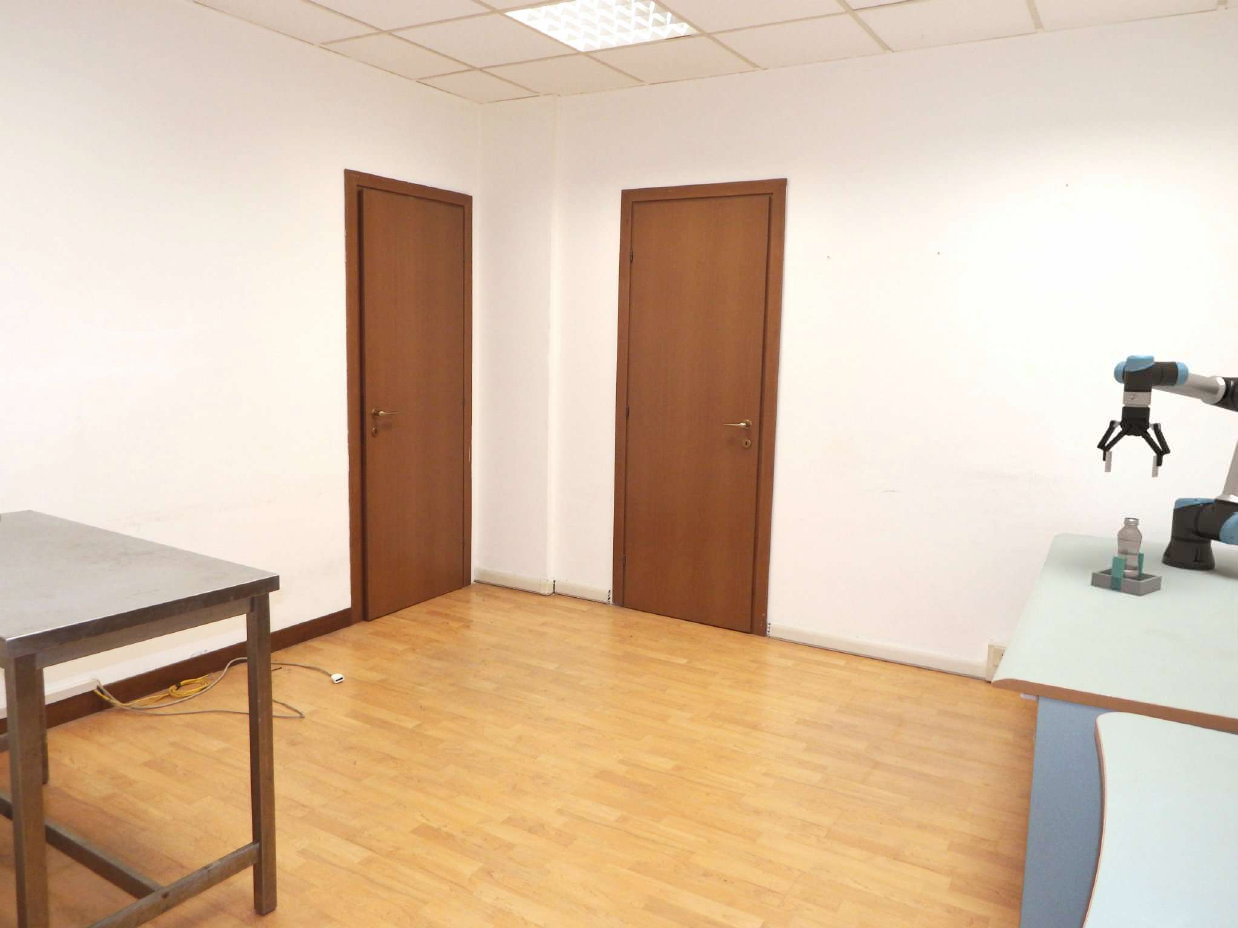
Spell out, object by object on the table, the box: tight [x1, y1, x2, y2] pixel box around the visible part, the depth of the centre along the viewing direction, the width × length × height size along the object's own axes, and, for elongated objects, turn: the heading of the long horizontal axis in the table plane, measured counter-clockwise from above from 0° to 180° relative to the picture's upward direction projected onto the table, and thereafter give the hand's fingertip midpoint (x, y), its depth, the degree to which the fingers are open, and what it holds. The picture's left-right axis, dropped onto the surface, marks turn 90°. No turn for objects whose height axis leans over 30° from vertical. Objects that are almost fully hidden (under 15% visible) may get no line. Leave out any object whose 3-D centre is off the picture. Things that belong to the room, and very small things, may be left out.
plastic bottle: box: [1116, 517, 1143, 581], centre depth 272 cm, size 6×7×20 cm
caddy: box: [1090, 551, 1163, 597], centre depth 273 cm, size 14×14×10 cm
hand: (1130, 474), depth 281 cm, fingers open, 13 cm apart
